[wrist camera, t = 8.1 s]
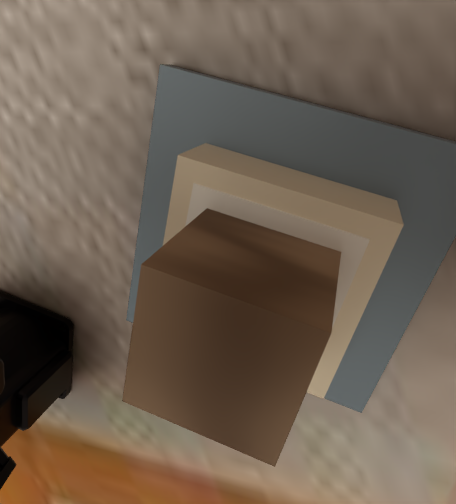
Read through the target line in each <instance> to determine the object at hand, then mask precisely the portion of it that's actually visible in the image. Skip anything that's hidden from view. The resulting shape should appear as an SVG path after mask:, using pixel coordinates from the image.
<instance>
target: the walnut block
mask: <svg viewBox="0 0 456 504" xmlns="http://www.w3.org/2000/svg"><path fill="white" fill-rule="evenodd" d="M340 258H341V252H340V251H337V250H334V249H331V248H328V247H325V246H322V245H319V244H315V243H312V242H309V241H306V240H303V239H300V238H297V237H294V236H291V235H288V234H285V233H282V232H279V231H276V230H272V229H269V228H266V227H263V226H260V225H257V224H254V223H251V222H248V221H245V220H242V219H239V218H236V217H233V216H229V215H226V214H223V213H220V212H217V211H214V210H211V209H208V208H207V209H205V210H204V211H203V212H202V213H201V214H199V215H198V216H197V217H196V218H195V219H194V220H192V221H191V222H190V223H189V224H188V225H187V226H185V227H184V228H183V229H182V230H181V231H180V232H178V233H177V234H176V235H175V236H174V237H173V238H171V239H170V240H169V241H168V242H167V243H166V244H164V245H163V246H162V247H161V248H160V249H159V250H157V251H156V252H155V253H154V254H153V255H152V256H150V257H149V258H148V259H147V260H146V261H145V262H143V263H142V264H141V269H140V276H139V284H138V291H137V298H136V305H135V313H134V320H133V327H132V334H131V342H130V349H129V356H128V363H127V371H126V378H125V385H124V392H123V400H122V401H123V402H126V403H128V404H130V405H133V406H135V407H137V408H140V409H142V410H144V411H147V412H149V413H151V414H154V415H156V416H158V417H161V418H163V419H165V420H167V421H170V422H172V423H174V424H177V425H179V426H181V427H184V428H186V429H188V430H191V431H193V432H195V433H198V434H200V435H202V436H205V437H207V438H209V439H212V440H214V441H216V442H219V443H221V444H223V445H226V446H228V447H230V448H233V449H235V450H237V451H240V452H242V453H244V454H247V455H249V456H251V457H254V458H256V459H258V460H260V461H263V462H265V463H267V464H270V465H272V466H274V467H275V465H276V463H277V460H278V458H279V456H280V453H281V451H282V449H283V446H284V444H285V442H286V439H287V437H288V434H289V432H290V430H291V427H292V425H293V423H294V420H295V418H296V416H297V413H298V411H299V409H300V406H301V404H302V401H303V399H304V397H305V394H306V392H307V390H308V387H309V385H310V383H311V380H312V378H313V375H314V373H315V371H316V368H317V366H318V364H319V361H320V359H321V357H322V354H323V352H324V350H325V347H326V345H327V342H328V340H329V338H330V335H331V332H332V324H333V316H334V308H335V299H336V291H337V283H338V275H339V267H340Z"/></svg>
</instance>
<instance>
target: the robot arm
mask: <svg viewBox="0 0 456 504" xmlns="http://www.w3.org/2000/svg"><path fill="white" fill-rule="evenodd" d="M73 329H74V327H73V323H72V322H71V321H70V320H69V319H68V318H66V317H63V316H61V315H58V314H56V313H53V312H51V311H48V310H46V309H43V308H41V307H39V306H36V305H34V304H31V303H29V302H26V301H24V300H21V299H19V298H16V297H14V296H11V295H9V294H6V293H4V292H1V291H0V489H1V488H2V486H3V485H4V483H5V482H6V480H7V479H8V477H9V475H10V474H11V472H12V471H13V469H14V468H15V466H16V463H15V462H14V460H13V459H12V458H11V457H8V456H7V455H6V453H5V452H4V451H3V449H2V448H1V446H2V445H3V444H4V443H5V442H6V441H7V440H8V439H9V438H10V437H11V436H12V435H13V434H14V433H15V432H16V431H17V430H18V429H21V430H23V431H24V430H26V429H28V428H30V427H31V426H32V425H33V423H34V422H35V421H36V420H37V419H38V418H39V417H40V416H41V415H42V414H43V413H44V412H45V411H46V410H47V409H48V408H49V407H50V405H51V404H52V403H53V402H54V401H55V400H56V399H57V398H61V399H64V398H65V397H66V396H67V395H68V394H69V393H70V384H71V380H72V364H73V355H72V346H73Z"/></svg>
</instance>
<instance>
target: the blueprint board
mask: <svg viewBox="0 0 456 504" xmlns="http://www.w3.org/2000/svg"><path fill="white" fill-rule="evenodd" d="M207 208H208V209H211V210H214V211H217V212H220V213H223V214H226V215H229V216H233V217H236V218H239V219H242V220H245V221H248V222H251V223H254V224H257V225H260V226H263V227H266V228H269V229H272V230H276V231H279V232H282V233H285V234H288V235H291V236H294V237H297V238H300V239H303V240H306V241H309V242H312V243H315V244H319V245H322V246H325V247H328V248H331V249H334V250H337V251H340V252H341V258H340V267H339V275H338V283H337V291H336V299H335V308H334V316H333V324H332V332H331V335H330V338H329V340H328V342H327V345H326V347H325V350H324V352H323V354H322V357H321V359H320V361H319V364H318V366H317V368H316V371H315V373H314V375H313V378H312V380H311V383H310V385H309V387H308V390H307V393H309V394H312V395H314V396H317V397H319V398H322V399H324V398H325V399H327V400H330V401H332V402H335V403H338V404H340V405H343V406H345V407H348V408H350V409H353V410H355V411H358V412H360V413H362V411H363V409H364V407H365V405H366V403H367V402H368V400H369V398H370V396H371V394H372V392H373V390H374V388H375V387H376V385H377V383H378V381H379V379H380V377H381V375H382V373H383V371H384V370H385V368H386V366H387V364H388V362H389V360H390V358H391V356H392V355H393V353H394V351H395V349H396V347H397V345H398V343H399V341H400V340H401V338H402V336H403V334H404V332H405V330H406V328H407V326H408V325H409V323H410V321H411V319H412V317H413V315H414V313H415V311H416V310H417V308H418V306H419V304H420V302H421V300H422V298H423V296H424V295H425V293H426V291H427V289H428V287H429V285H430V283H431V281H432V280H433V278H434V276H435V274H436V272H437V270H438V268H439V266H440V265H441V263H442V261H443V259H444V257H445V255H446V253H447V251H448V250H449V248H450V246H451V244H452V242H453V240H454V238H455V236H456V141H452V140H448V139H445V138H441V137H437V136H433V135H430V134H426V133H422V132H419V131H415V130H411V129H407V128H404V127H400V126H396V125H393V124H389V123H385V122H381V121H378V120H374V119H370V118H367V117H363V116H359V115H355V114H352V113H348V112H344V111H340V110H337V109H333V108H329V107H326V106H322V105H318V104H314V103H311V102H307V101H303V100H300V99H296V98H292V97H288V96H285V95H281V94H277V93H273V92H270V91H266V90H262V89H259V88H255V87H251V86H247V85H244V84H240V83H236V82H233V81H229V80H225V79H221V78H218V77H214V76H210V75H206V74H203V73H199V72H195V71H192V70H188V69H184V68H180V67H177V66H173V65H164V64H160V69H159V76H158V84H157V91H156V99H155V106H154V114H153V122H152V129H151V137H150V144H149V152H148V160H147V167H146V175H145V182H144V190H143V197H142V205H141V213H140V220H139V228H138V235H137V243H136V250H135V258H134V266H133V273H132V281H131V288H130V296H129V304H128V311H127V319H126V320H127V321H130V322H132V323H133V320H134V313H135V305H136V298H137V291H138V284H139V276H140V269H141V264H142V263H143V262H145V261H146V260H147V259H148V258H149V257H150V256H152V255H153V254H154V253H155V252H156V251H157V250H159V249H160V248H161V247H162V246H163V245H164V244H166V243H167V242H168V241H169V240H170V239H171V238H173V237H174V236H175V235H176V234H177V233H178V232H180V231H181V230H182V229H183V228H184V227H185V226H187V225H188V224H189V223H190V222H191V221H192V220H194V219H195V218H196V217H197V216H198V215H199V214H201V213H202V212H203V211H204V210H205V209H207Z"/></svg>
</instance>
